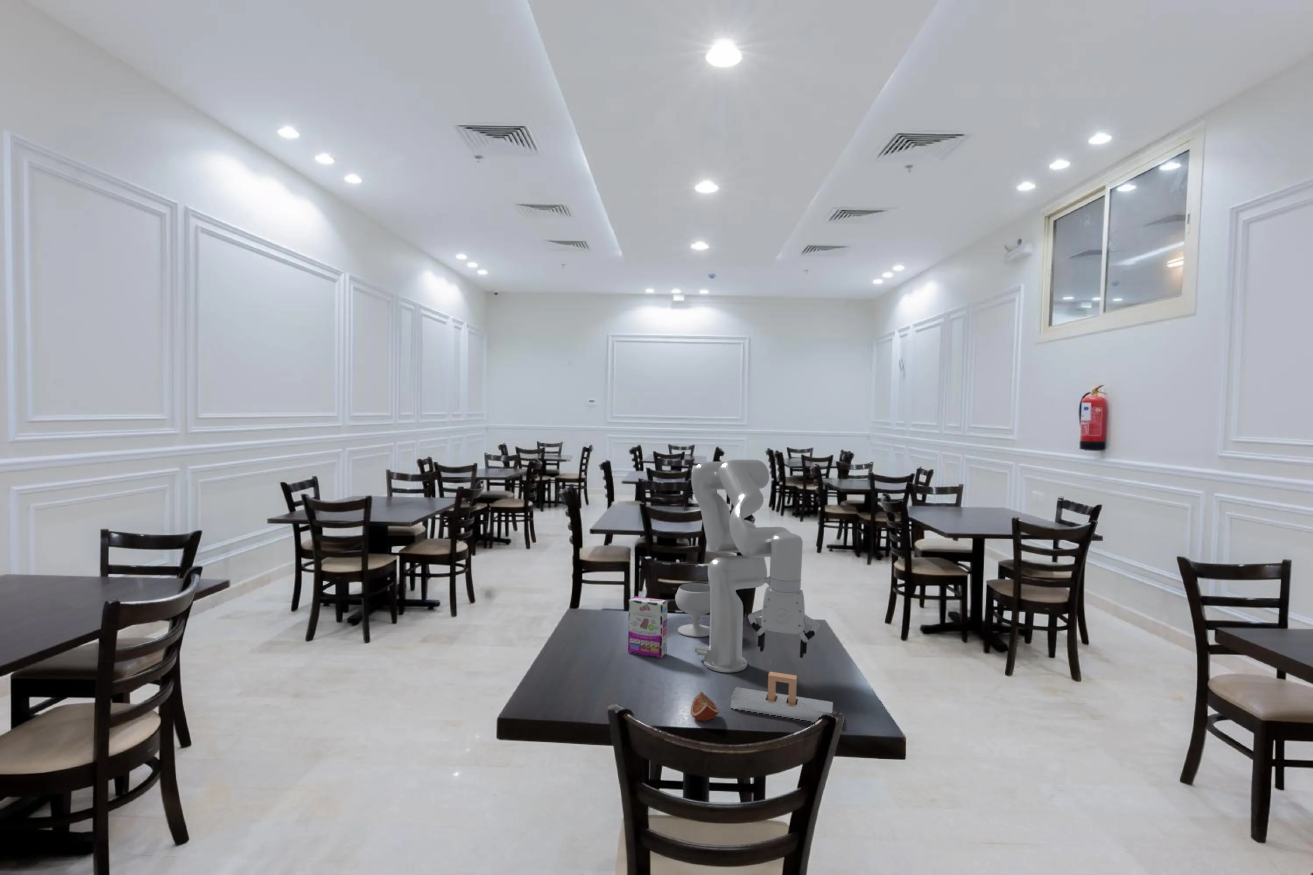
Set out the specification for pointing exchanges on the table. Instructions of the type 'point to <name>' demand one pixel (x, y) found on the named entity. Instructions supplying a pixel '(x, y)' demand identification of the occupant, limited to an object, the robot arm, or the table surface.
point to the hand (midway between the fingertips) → (781, 652)
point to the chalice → (694, 607)
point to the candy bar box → (647, 626)
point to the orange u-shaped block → (786, 679)
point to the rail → (779, 705)
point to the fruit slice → (703, 708)
